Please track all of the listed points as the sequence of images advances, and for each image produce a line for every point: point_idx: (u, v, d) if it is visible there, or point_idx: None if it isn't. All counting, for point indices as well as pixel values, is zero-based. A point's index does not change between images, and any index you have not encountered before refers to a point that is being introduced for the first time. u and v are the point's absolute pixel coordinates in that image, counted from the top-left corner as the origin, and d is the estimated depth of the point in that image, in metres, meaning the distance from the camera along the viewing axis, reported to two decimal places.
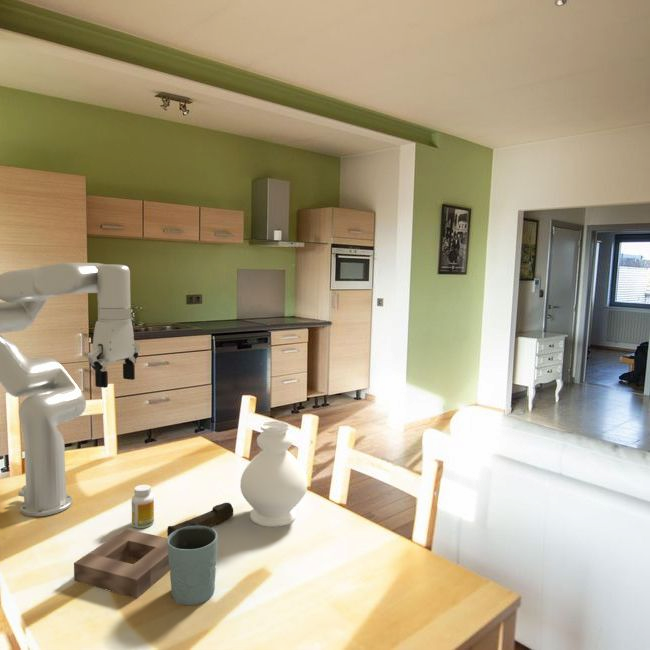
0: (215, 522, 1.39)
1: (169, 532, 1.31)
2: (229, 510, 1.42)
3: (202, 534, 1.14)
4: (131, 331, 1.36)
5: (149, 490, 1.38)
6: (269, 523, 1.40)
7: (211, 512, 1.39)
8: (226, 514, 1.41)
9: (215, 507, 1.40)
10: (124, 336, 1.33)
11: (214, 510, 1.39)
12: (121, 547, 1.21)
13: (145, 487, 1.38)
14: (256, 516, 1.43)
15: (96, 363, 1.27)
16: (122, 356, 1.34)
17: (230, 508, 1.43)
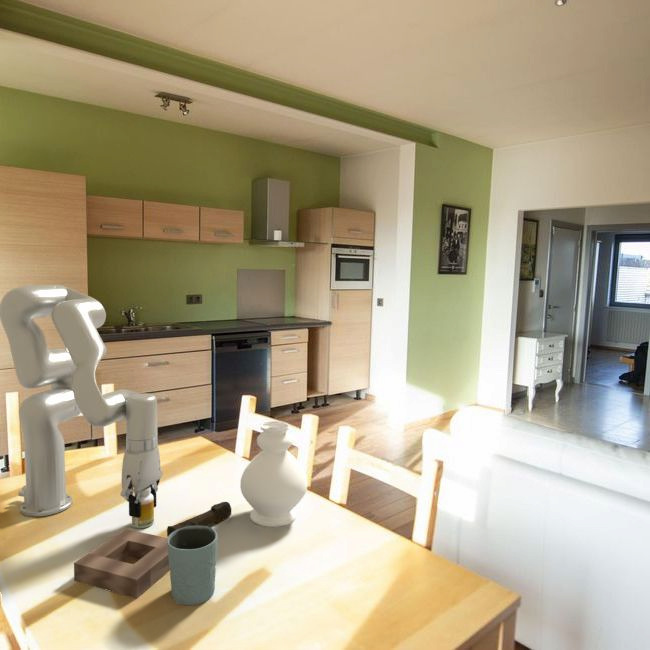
0: (214, 521, 1.39)
1: (169, 532, 1.31)
2: (227, 509, 1.43)
3: (202, 534, 1.14)
4: (158, 456, 1.40)
5: (149, 490, 1.38)
6: (269, 523, 1.40)
7: (210, 511, 1.39)
8: (225, 513, 1.42)
9: (214, 506, 1.41)
10: (151, 463, 1.37)
11: (213, 509, 1.40)
12: (121, 547, 1.21)
13: None
14: (256, 516, 1.43)
15: (130, 497, 1.33)
16: (149, 483, 1.37)
17: (228, 507, 1.43)
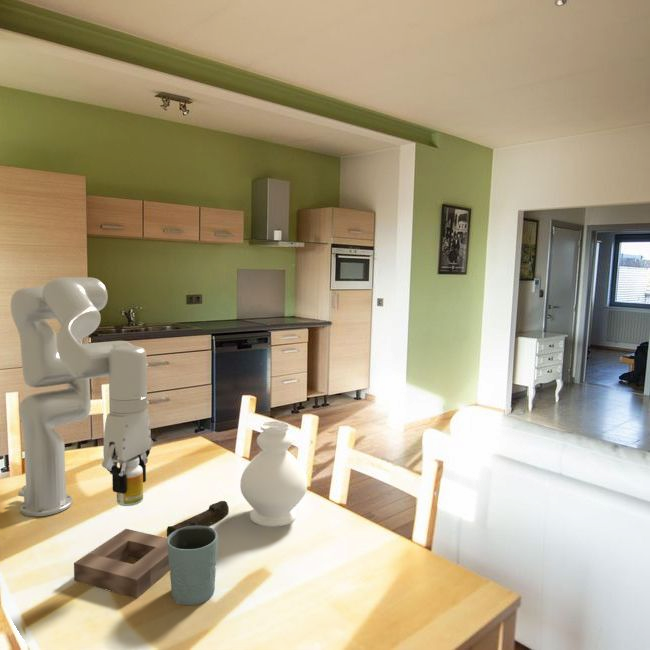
0: (212, 520, 1.40)
1: (169, 532, 1.31)
2: (225, 508, 1.44)
3: (202, 534, 1.14)
4: (147, 421, 1.17)
5: (137, 461, 1.15)
6: (269, 523, 1.40)
7: (208, 511, 1.40)
8: (222, 512, 1.42)
9: (212, 506, 1.41)
10: (140, 429, 1.15)
11: (211, 509, 1.40)
12: (121, 547, 1.21)
13: None
14: (256, 516, 1.43)
15: (114, 468, 1.10)
16: (137, 452, 1.15)
17: (226, 506, 1.44)
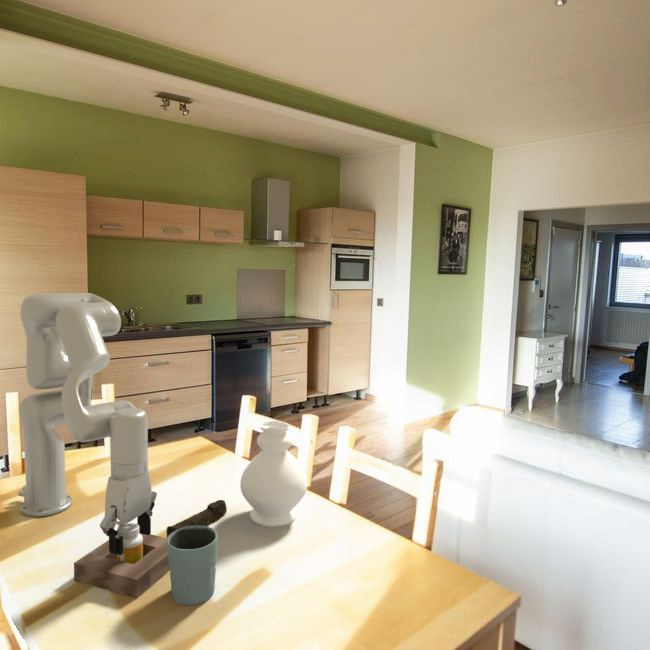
0: (211, 520, 1.40)
1: (169, 532, 1.31)
2: (223, 507, 1.44)
3: (202, 534, 1.14)
4: (148, 481, 1.19)
5: (137, 530, 1.17)
6: (269, 523, 1.40)
7: (207, 510, 1.40)
8: (221, 511, 1.43)
9: (210, 505, 1.41)
10: (140, 491, 1.16)
11: (209, 508, 1.41)
12: None
13: (133, 527, 1.18)
14: (256, 516, 1.43)
15: (110, 531, 1.10)
16: (138, 513, 1.17)
17: (224, 505, 1.44)
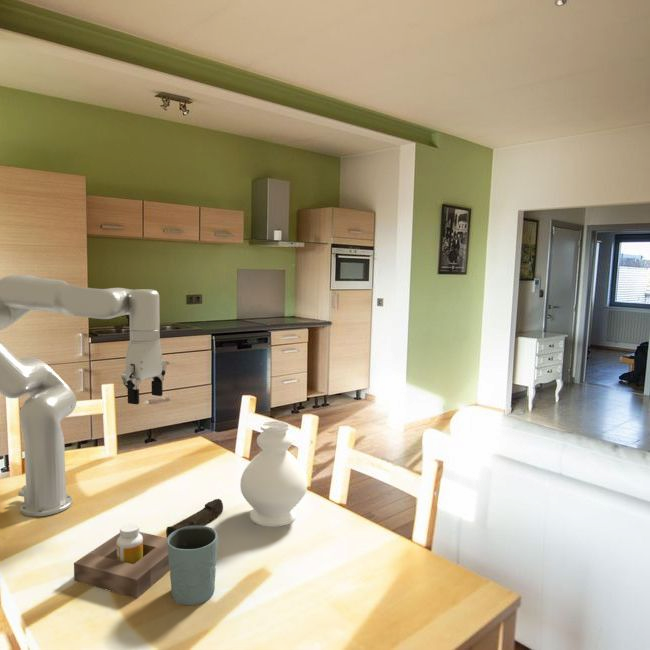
0: (209, 519, 1.40)
1: (169, 533, 1.30)
2: (220, 506, 1.45)
3: (202, 534, 1.14)
4: (160, 351, 1.46)
5: (137, 530, 1.17)
6: (269, 523, 1.40)
7: (205, 509, 1.40)
8: (218, 510, 1.43)
9: (207, 504, 1.42)
10: (154, 356, 1.43)
11: (207, 507, 1.41)
12: None
13: (133, 527, 1.18)
14: (256, 516, 1.43)
15: (129, 382, 1.37)
16: (152, 374, 1.43)
17: (221, 504, 1.45)
